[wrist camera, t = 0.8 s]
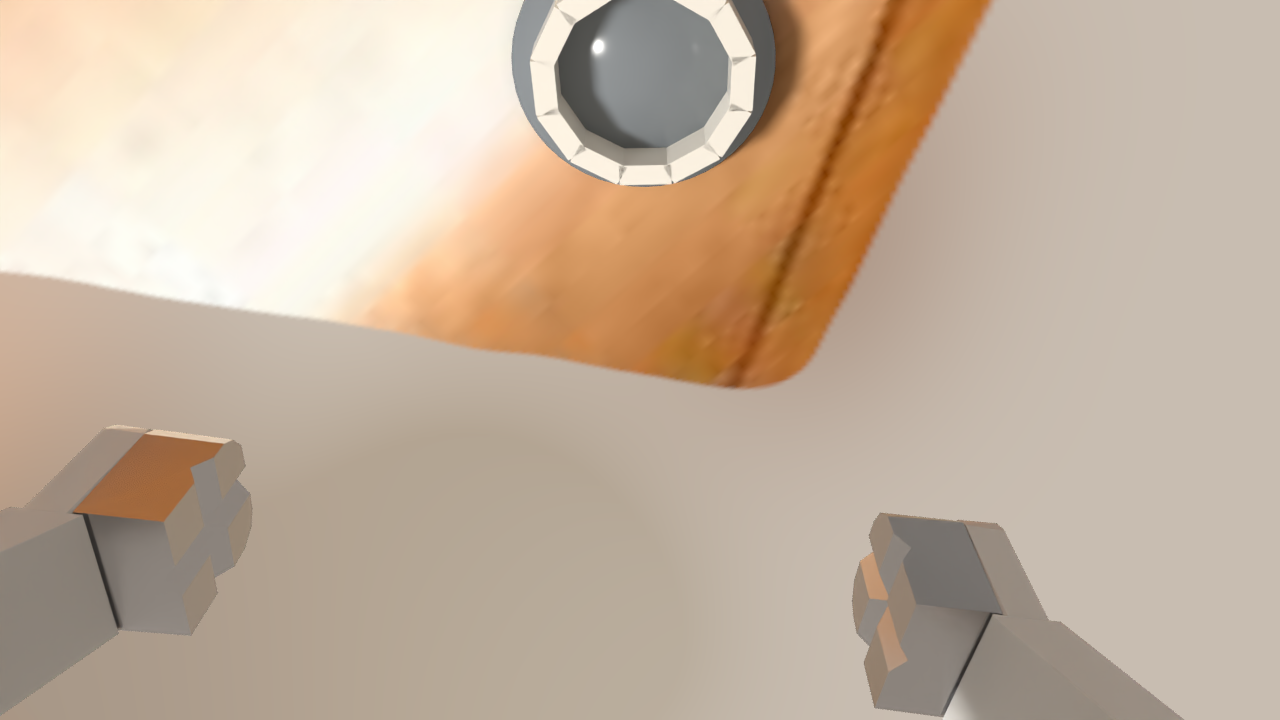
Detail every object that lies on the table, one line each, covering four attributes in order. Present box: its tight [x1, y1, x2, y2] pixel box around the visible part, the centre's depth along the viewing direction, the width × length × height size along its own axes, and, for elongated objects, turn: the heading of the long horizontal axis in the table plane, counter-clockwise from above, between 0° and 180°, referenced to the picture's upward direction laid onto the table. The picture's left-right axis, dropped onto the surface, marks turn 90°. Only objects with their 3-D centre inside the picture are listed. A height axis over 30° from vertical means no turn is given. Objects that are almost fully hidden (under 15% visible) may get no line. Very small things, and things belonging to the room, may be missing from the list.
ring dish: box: [512, 0, 776, 187], centre depth 44 cm, size 14×14×3 cm
